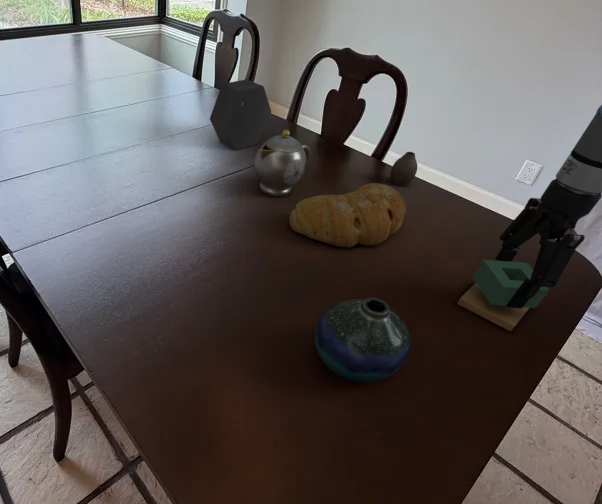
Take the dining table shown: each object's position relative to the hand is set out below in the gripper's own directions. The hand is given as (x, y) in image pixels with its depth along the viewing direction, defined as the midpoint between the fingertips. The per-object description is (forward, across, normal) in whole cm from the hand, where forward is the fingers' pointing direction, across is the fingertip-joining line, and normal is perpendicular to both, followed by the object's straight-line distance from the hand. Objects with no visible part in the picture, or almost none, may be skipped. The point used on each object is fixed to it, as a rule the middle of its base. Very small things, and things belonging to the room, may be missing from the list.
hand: (503, 291), depth 89 cm
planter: (+4, -77, -52) cm, 93 cm away
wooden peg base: (+4, 0, 0) cm, 4 cm away
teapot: (+4, -46, -41) cm, 62 cm away
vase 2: (+4, -56, -4) cm, 56 cm away
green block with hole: (0, 0, 0) cm, 0 cm away
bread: (+4, -28, -24) cm, 37 cm away
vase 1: (+4, +19, -34) cm, 39 cm away
